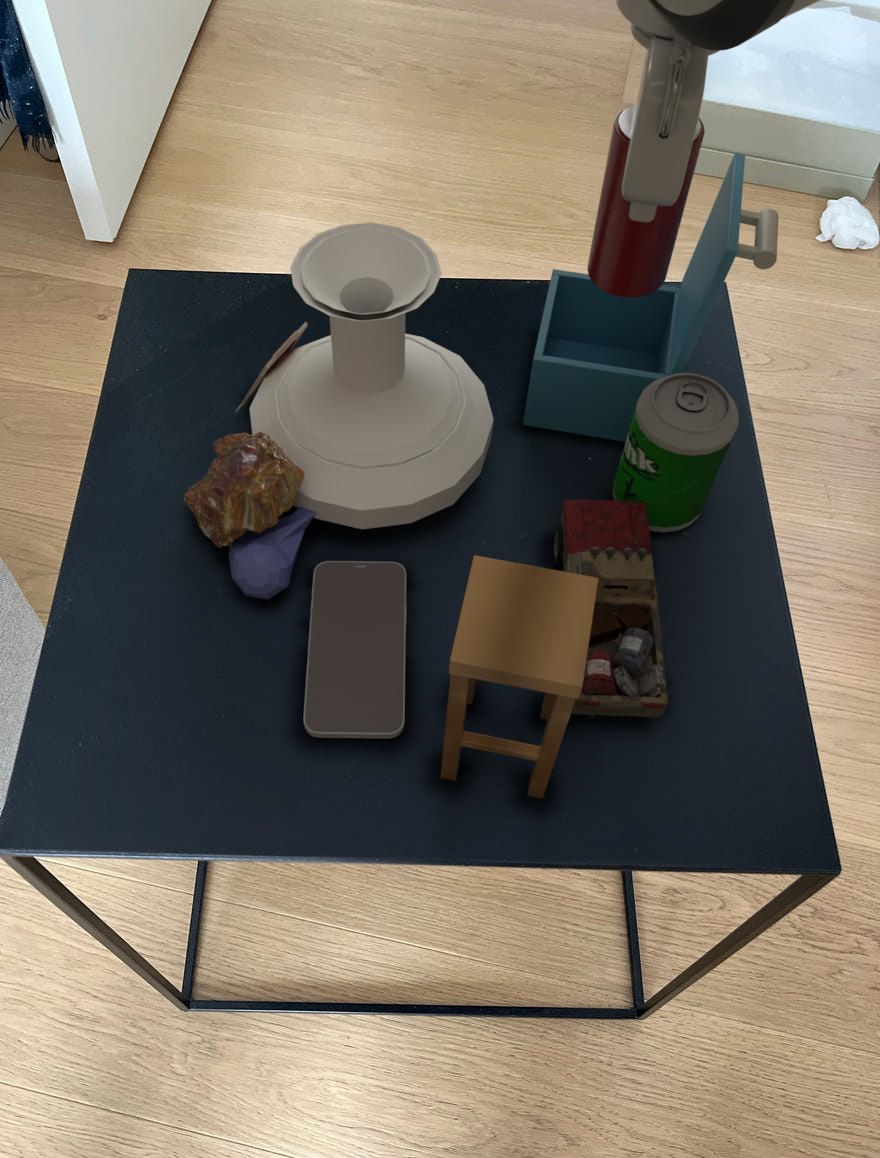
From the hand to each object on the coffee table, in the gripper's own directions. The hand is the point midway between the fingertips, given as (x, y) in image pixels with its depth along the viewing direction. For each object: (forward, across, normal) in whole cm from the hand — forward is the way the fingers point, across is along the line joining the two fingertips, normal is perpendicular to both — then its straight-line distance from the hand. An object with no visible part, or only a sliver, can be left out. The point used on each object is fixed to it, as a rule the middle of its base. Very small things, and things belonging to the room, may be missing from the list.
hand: (646, 182), depth 72 cm
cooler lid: (+6, 0, -6) cm, 9 cm away
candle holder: (+20, -12, +18) cm, 30 cm away
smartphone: (+21, -31, +15) cm, 40 cm away
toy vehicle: (+21, -25, -3) cm, 33 cm away
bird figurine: (+15, -28, +23) cm, 39 cm away
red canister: (+8, 0, 0) cm, 8 cm away
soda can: (+21, -12, -6) cm, 25 cm away
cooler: (+21, 0, 0) cm, 21 cm away
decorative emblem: (+14, -4, +26) cm, 29 cm away
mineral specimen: (+12, -21, +28) cm, 37 cm away
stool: (+21, -36, +3) cm, 42 cm away
